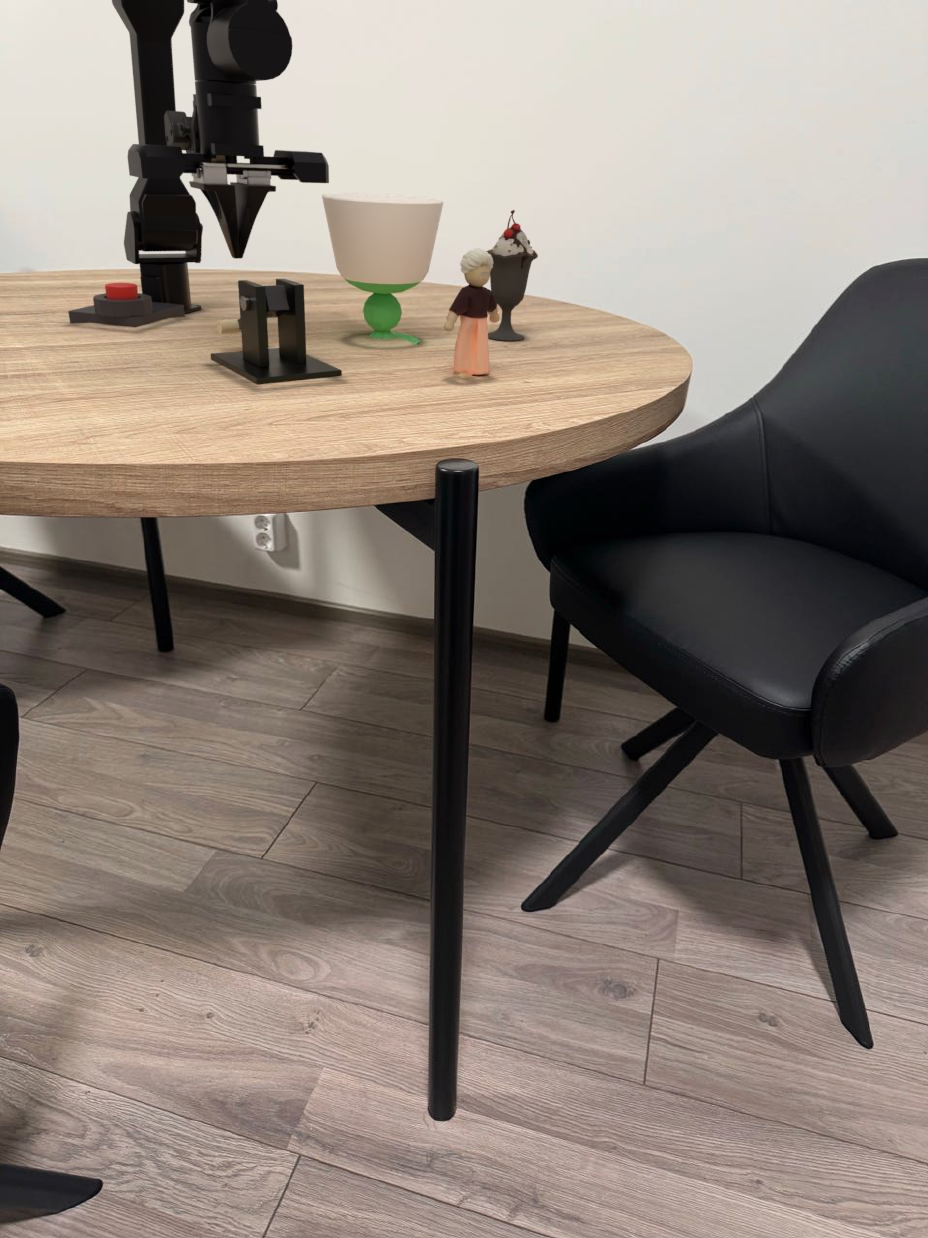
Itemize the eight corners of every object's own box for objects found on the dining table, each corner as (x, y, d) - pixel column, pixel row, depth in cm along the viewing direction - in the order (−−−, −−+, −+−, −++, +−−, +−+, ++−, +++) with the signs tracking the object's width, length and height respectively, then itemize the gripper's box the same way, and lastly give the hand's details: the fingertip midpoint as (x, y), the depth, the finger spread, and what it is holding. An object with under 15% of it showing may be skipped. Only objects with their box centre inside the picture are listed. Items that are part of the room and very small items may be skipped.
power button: (118, 296, 111) (116, 281, 110) (144, 299, 110) (142, 284, 109) (100, 300, 108) (98, 285, 107) (127, 303, 107) (125, 287, 106)
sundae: (495, 343, 112) (503, 210, 105) (470, 333, 117) (476, 205, 110) (541, 341, 115) (552, 211, 108) (514, 331, 120) (523, 206, 113)
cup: (301, 337, 110) (296, 192, 102) (385, 326, 119) (386, 192, 111) (378, 358, 102) (379, 202, 94) (462, 344, 111) (468, 201, 103)
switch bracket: (211, 364, 95) (203, 275, 91) (290, 357, 100) (286, 272, 95) (257, 391, 86) (251, 293, 82) (342, 381, 91) (340, 289, 87)
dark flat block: (123, 312, 119) (120, 283, 118) (186, 318, 117) (184, 289, 116) (66, 326, 109) (61, 295, 107) (134, 333, 107) (130, 302, 105)
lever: (219, 340, 97) (214, 317, 96) (263, 337, 99) (258, 314, 99) (255, 311, 87) (249, 285, 87) (302, 308, 90) (297, 283, 90)
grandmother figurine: (468, 388, 91) (475, 252, 85) (436, 381, 93) (440, 248, 87) (506, 375, 97) (514, 247, 91) (475, 369, 99) (482, 243, 93)
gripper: (287, 91, 97) (293, 248, 104) (105, 77, 88) (125, 250, 96) (329, 89, 89) (332, 260, 96) (132, 74, 80) (152, 263, 87)
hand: (237, 257), depth 94 cm, fingers closed
